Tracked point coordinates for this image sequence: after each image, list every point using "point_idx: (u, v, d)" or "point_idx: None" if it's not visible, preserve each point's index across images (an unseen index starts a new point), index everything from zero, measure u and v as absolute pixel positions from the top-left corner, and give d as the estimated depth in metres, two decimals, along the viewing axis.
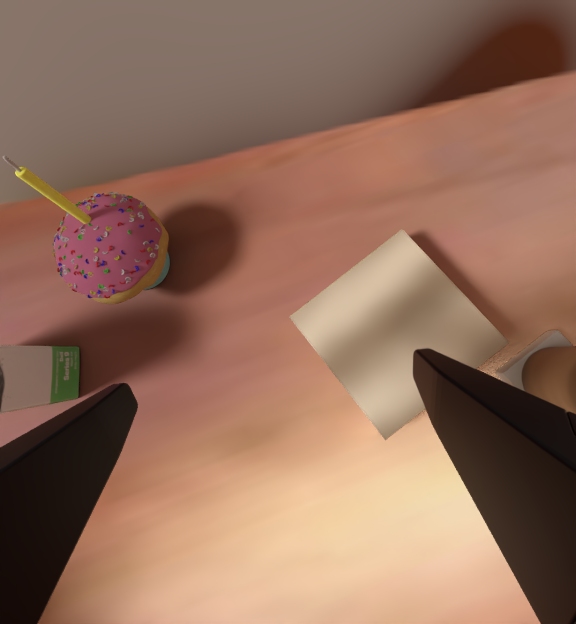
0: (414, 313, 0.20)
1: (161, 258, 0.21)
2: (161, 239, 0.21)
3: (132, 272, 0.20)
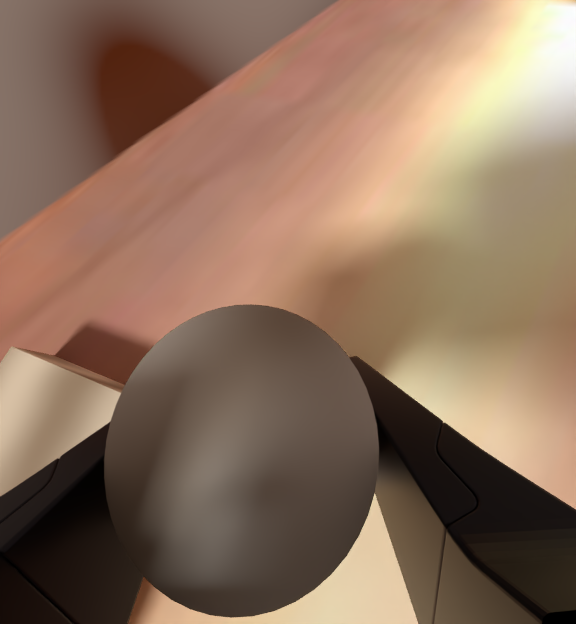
0: (47, 456, 0.13)
1: None
2: None
3: None
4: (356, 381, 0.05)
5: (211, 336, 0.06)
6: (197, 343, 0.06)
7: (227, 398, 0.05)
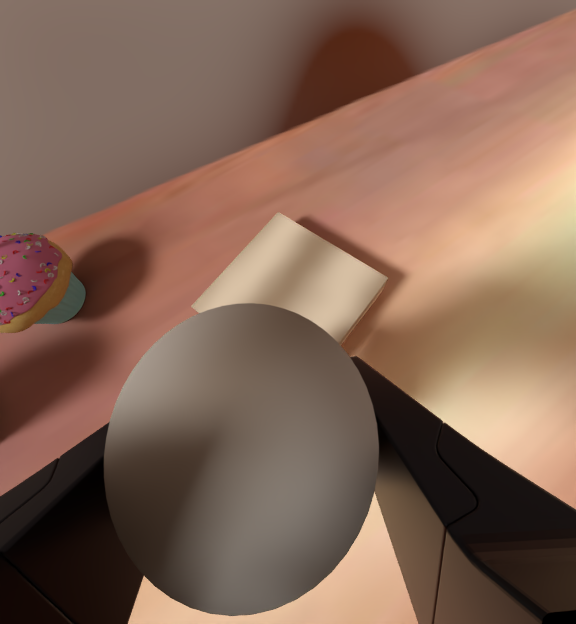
0: (301, 275, 0.22)
1: (62, 278, 0.22)
2: (61, 262, 0.23)
3: (29, 292, 0.21)
4: (356, 380, 0.05)
5: (211, 334, 0.06)
6: (197, 342, 0.06)
7: (227, 397, 0.05)
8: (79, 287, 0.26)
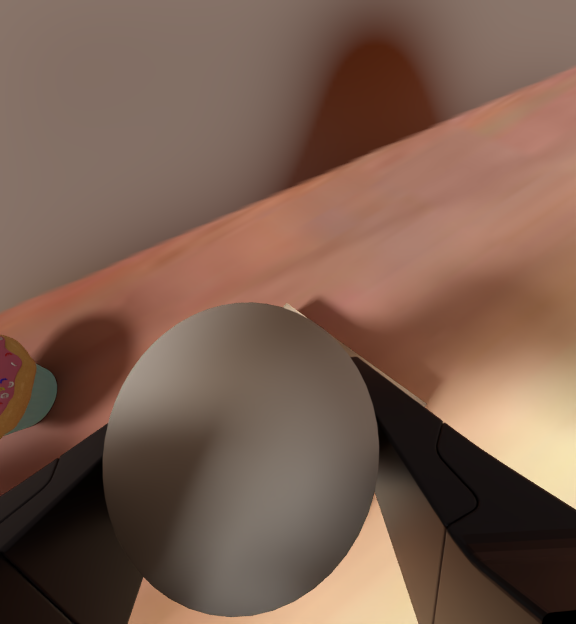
0: None
1: (21, 395, 0.18)
2: (19, 373, 0.18)
3: None
4: (356, 379, 0.05)
5: (211, 334, 0.06)
6: (196, 341, 0.06)
7: (226, 396, 0.05)
8: (48, 385, 0.22)
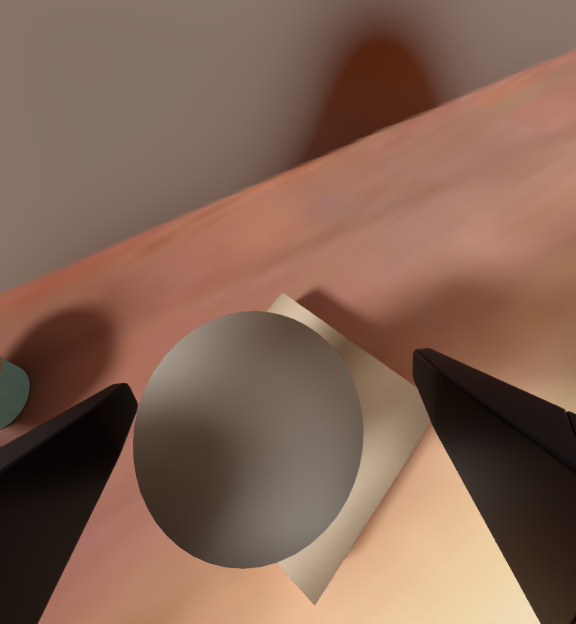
0: None
1: None
2: None
3: None
4: (344, 374, 0.06)
5: (222, 338, 0.07)
6: (209, 345, 0.07)
7: (236, 390, 0.06)
8: (18, 384, 0.20)
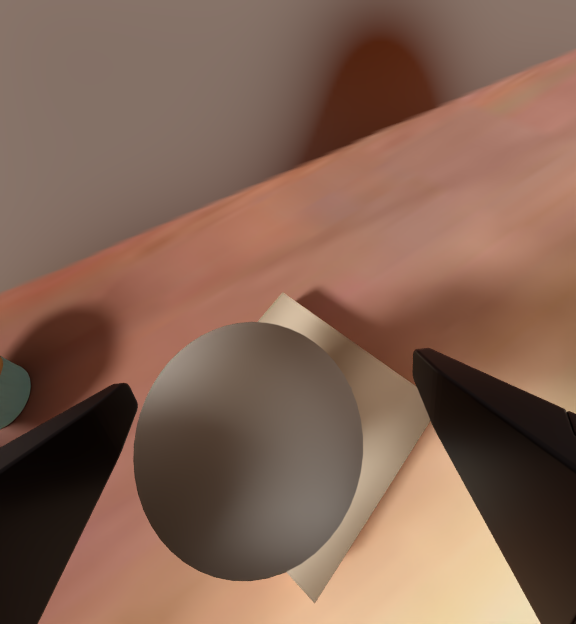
0: None
1: None
2: None
3: None
4: (342, 382, 0.06)
5: (218, 350, 0.07)
6: (206, 357, 0.07)
7: (235, 403, 0.06)
8: (19, 384, 0.20)
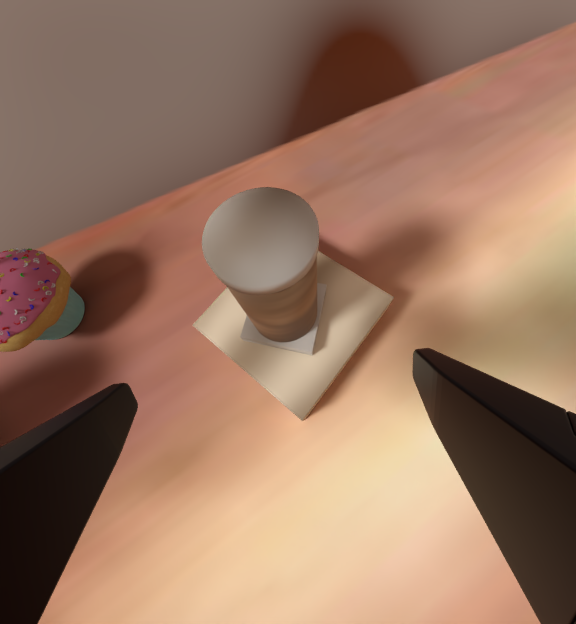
0: None
1: (60, 296, 0.22)
2: (59, 279, 0.22)
3: (27, 311, 0.20)
4: (308, 208, 0.12)
5: (243, 201, 0.12)
6: (236, 205, 0.12)
7: (254, 222, 0.12)
8: (78, 302, 0.25)
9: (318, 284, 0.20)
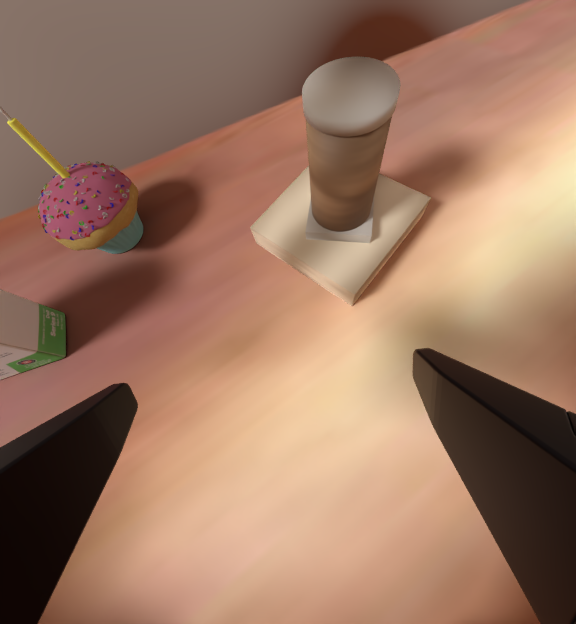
0: None
1: (132, 201, 0.25)
2: (130, 187, 0.25)
3: (107, 209, 0.23)
4: (387, 65, 0.15)
5: (329, 69, 0.15)
6: (325, 72, 0.15)
7: (343, 81, 0.15)
8: (139, 219, 0.28)
9: None
